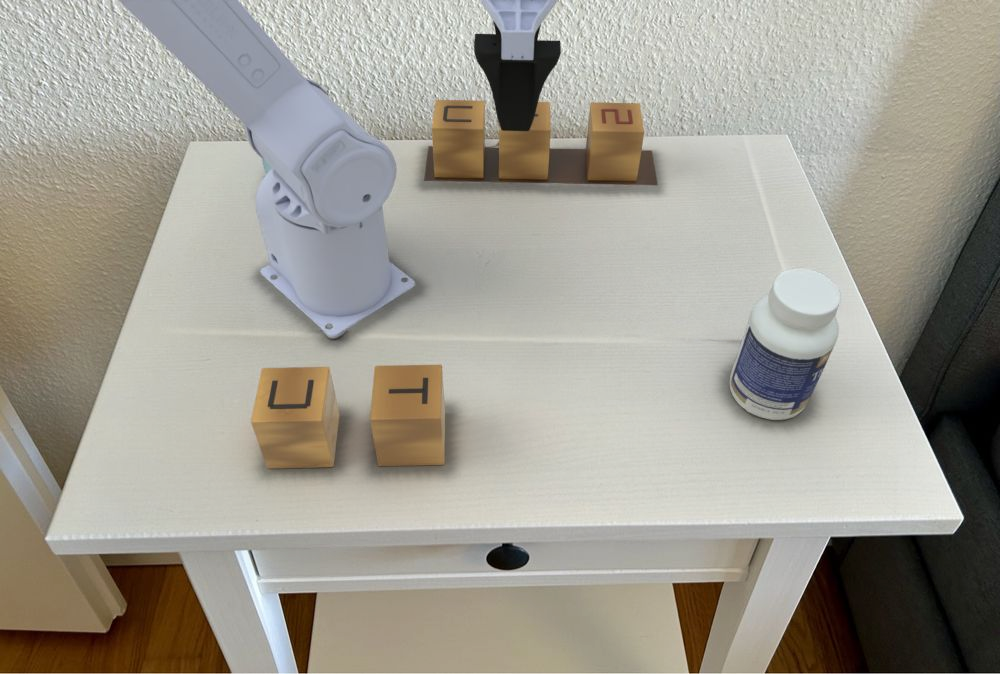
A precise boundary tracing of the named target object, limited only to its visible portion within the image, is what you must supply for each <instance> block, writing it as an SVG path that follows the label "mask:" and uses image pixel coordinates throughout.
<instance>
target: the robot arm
mask: <svg viewBox="0 0 1000 674" xmlns="http://www.w3.org/2000/svg"><path fill="white" fill-rule="evenodd" d="M117 1H118V2H119V3H120V4H121V5H122V6H123V7H124V8H125V9H126V10H127V11H128V12H129V13H130V14H131V15H132V16H133V17H134V18H135V19H136V20H137V21H138V22H139V23H141V24H142V25H143V26H144V27H145V28H146V29H147V30H148V31H149V33H151V34H152V36H154V37H155V38H156V39H157V40H158V41H159V42H160V43H161V44H162V45H163V46H164V47H165V48H166V49H167V50H168V51H169V52H170V53H171V54H172V55H173V56H174V57H175V58H176V59H177V60H178V61H179V62H180V63H182V64H183V66H184V67H185V68H186V69H187V70H188V71H189V72H190V73H192V75H193V76H195V78H197V80H199V82H201V83H202V85H204V86H205V88H207V89H208V90H209V91H210V92H211V93H212V94H213V95H214V96H215V97H216V98H217V99H218V100H219V101H220V102H221V103H222V104H223V105H224V106H225V107H226V108H227V109H228V110H229V111H230V112H231V113H232V114H233V115H234V116H235V117H236V118H237V119H238V120H239V121H240V122H242V124H243V127H244V132H245V135H246V139H247V141H248V144H249V146H250V147H251V148H252V150H253V151H254V152H255V154H257V155H258V156H259V157H260V159H265V160H266V161H267V162H268V163H269V164H270V166H271V170H270V171H269V172H268V173H266V174H265V175H264V176H263V178H262V179H261V181H260V183H259V185H258V187H257V190H256V194H255V201H254V208H255V213H256V216H257V220H258V224H259V228H260V231H261V235H262V240H263V243H264V247H265V251H266V254H267V258H268V262H269V264H268V265H266V266H264V267H262V268H261V269H260V275H262V276H263V277H264V278H265V279H266V280H267V281H268V282H270V283H271V284H272V285H273V287H275V288H276V289H277V290H278V291H279V292H280V293H281V294H282V295H284V296H285V297H286V298H287V299H288V300H289V301H290V302H292V304H294V305H295V306H296V308H298V309H299V310H300V311H301V312H302V313H304V314H305V315H306V317H308V318H309V319H310V320H311V321H312V322H314V324H316V325H317V326H318V327H319V328H320V329H321V330H320V331H321V332H322V333H323V334H324V335H325V336H326V337H327V338H329V339H337V338H340V337H341V336H342V335H344V334H346V333H347V332H348V330H347V329H349V328H350V327H352V326H353V325H355V324H357V323H358V322H360V321H361V320H363V319H365V318H366V317H368V316H370V315H371V314H372V313H373V314H374V312H376V311H378V310H379V309H381V308H382V307H384V306H385V305H387V304H388V303H390V302H392V301H394V300H395V299H397V298H398V297H400V296H401V295H403V294H405V293H406V292H408V291H410V290H411V289H413V288H414V287H415V286H416V281H415V280H414V279H412V278H411V277H410V276H409V275H407V274H406V273H405V272H404V271H403V270H401V269H400V268H399V267H398V266H396V265H395V264H394V263H392V262H391V261H390V258H389V247H388V241H387V240H388V239H387V232H386V223H385V217H384V207H383V205H384V204H385V202H386V201H387V200H388V198H389V197H390V195H391V193H392V191H393V189H394V186H395V182H396V178H397V163H396V159H395V157H394V154H393V152H392V150H390V148H389V147H388V146H387V145H386V144H385V143H384V142H383V141H381V140H380V139H379V138H376V137H373V136H372V135H371V134H370V133H369V132H368V131H367V130H366V129H365V128H363V126H361V125H360V124H359V123H358V122H357V121H356V120H355V119H354V118H353V117H352V116H350V115H349V114H348V113H347V112H346V111H345V110H344V109H343V108H342V107H340V105H339V104H338V103H336V102H335V101H334V100H333V99H332V98H331V97H330V95H329V93H328V92H327V91H326V90H325V89H324V88H323V86H321V85H320V83H318V82H316V81H315V80H313V79H311V78H308V77H306V76H303V74H302V73H301V72H300V70H299V69H297V67H296V66H295V64H293V62H291V60H290V59H289V58H288V57H287V55H286V54H284V53H285V52H283V51H282V49H280V47H279V46H278V45H277V44H276V43H275V42H274V40H273V39H272V38H271V37H270V36H269V34H268V33H267V32H266V31H265V30H264V29H263V27H262V26H261V25H260V24H259V22H258V21H256V19H255V18H254V17H253V16H252V14H250V12H249V11H248V10H247V9H246V7H245V6H244V5H243V4H242V3H241V2H240V0H117ZM479 1H480V3H481V5H482V6H483V8H484V9H485V10H486V12H487V13H488V15H489V16H490V18H491V19H492V21H493V26H494V32H495V33H475V34H474V42H473V53H474V57H475V59H476V62H477V64H478V65H479V67H480V68H481V70H482V71H483V73H484V75H485V77H486V80H487V82H488V85H489V87H490V90H491V94H492V98H493V103H494V108H495V112H496V113H495V114H496V118H497V121H498V126H499V125H500V128H501V130H502V131H529V130H530V128H531V125H532V122H533V119H534V116H535V112H536V108H537V104H538V102H539V101H540V100H539V99H540V96H541V93H542V90H543V88H544V85H545V83H546V81H547V79H548V78H549V75H550V74H551V73H552V71H553V70H554V69H555V68H556V66H557V64H558V62H559V60H560V57H561V54H562V53H561V52H562V48H561V40H539V35H540V30H541V27H542V24H543V22H544V21H545V19H546V18H547V17H548V15H549V14H550V12H551V11H552V10H553V8H554V7H555V6H556V4H557V3H558V2H559V0H479ZM273 276H276V277H277V278H275V279H273V278H272V277H273ZM403 279H407V281H405V282H404V281H402V280H403ZM328 325H331V326H332V327H331V328H327V326H328Z"/></svg>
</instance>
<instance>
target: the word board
mask: <svg viewBox="0 0 1000 674" xmlns="http://www.w3.org/2000/svg"><path fill="white" fill-rule="evenodd" d="M585 150H586V148H550V151H549V167H548V179H547V180H541V179H499V146H498V147H495V146H494V147H493V146H491V147H489V146H485V161H484V178H442V177H435V174H434V158H433V145H428V148H427V154H426V162H425V170H424V177H423V181H424V182H462V183H463V182H465V183H466V182H467V183H469V182H470V183H516V184H561V185H562V184H565V185H567V184H568V185H610V186H611V185H612V186H613V185H614V186H615V185H616V186H658V177H657V172H656V167H655V160H654V156H653V150H647V149H646V150H644V149H642V150H641V157H640V163H639V169H638V175H637V181H606V180H588V178H587V165H586V152H585Z"/></svg>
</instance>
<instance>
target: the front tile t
mask: <svg viewBox="0 0 1000 674" xmlns="http://www.w3.org/2000/svg"><path fill="white" fill-rule="evenodd" d="M373 371H374V372H373V381H372V393H371V404H370V415H369V423H370V427H371V433H372V439H373V444H374V449H375V454H376V461H377V466H378V467H407V466H410V467H411V466H444V465H445V456H446V455H445V452H446V451H445V450H446V449H445V447H446V446H445V445H446V406H445V402H446V401H445V389H444V375H443V373H444V371H443V365H442V364H406V365H405V364H403V365H402V364H400V365H398V364H397V365H375V366H374V370H373Z"/></svg>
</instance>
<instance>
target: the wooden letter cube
mask: <svg viewBox="0 0 1000 674" xmlns="http://www.w3.org/2000/svg"><path fill="white" fill-rule="evenodd" d="M587 121H588V122H587V130H586V134H587V135H586V140H585V142H586V143H585V149H586V150H585V152H586V165H587V178H588V180H606V181H637V175H638V169H639V163H640V157H641V150H643V143H644V137H645V128H644V121H643V115H642V108H641V103H640V102H635V103H634V102H599V101H596V102H595V101H594V102H592V101H590V103H589V111H588V119H587Z"/></svg>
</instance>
